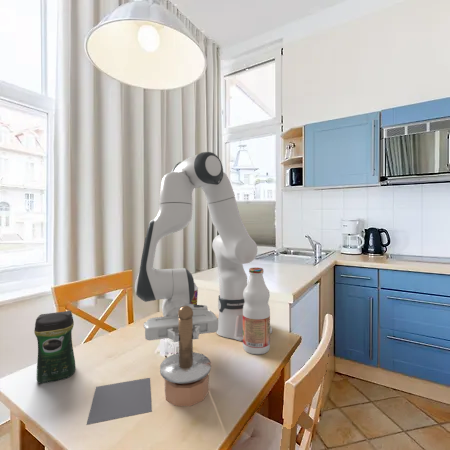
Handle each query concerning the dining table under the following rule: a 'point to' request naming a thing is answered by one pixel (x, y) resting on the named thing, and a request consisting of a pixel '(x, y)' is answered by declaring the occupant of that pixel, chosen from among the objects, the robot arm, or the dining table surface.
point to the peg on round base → (185, 354)
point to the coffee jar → (54, 346)
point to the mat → (120, 400)
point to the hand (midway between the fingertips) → (186, 337)
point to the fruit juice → (256, 314)
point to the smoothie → (195, 296)
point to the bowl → (186, 392)
